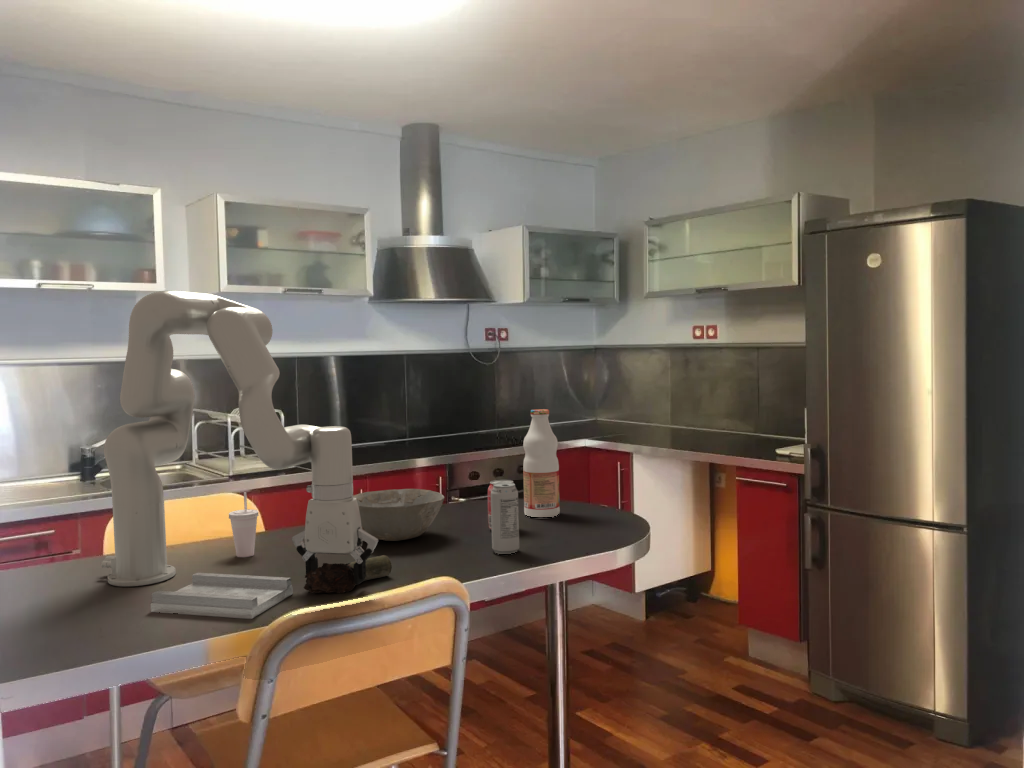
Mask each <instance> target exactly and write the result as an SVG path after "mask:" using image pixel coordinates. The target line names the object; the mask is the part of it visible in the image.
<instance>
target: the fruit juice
mask: <svg viewBox="0 0 1024 768" xmlns="http://www.w3.org/2000/svg"><path fill="white" fill-rule="evenodd" d="M549 416H550V410H549V409H545V408H543V409H539V408H538V409H530V417H531V421H530V426H529V428H528V431H527V433H526V435H525V436H524V438H523V444H522V447H523V451H524V458H523V463H522V464H523V465H522V466H523V467H522V471H523V472H522V473H523V474H522V475H523V512H524V516H525V515H527V516H531V517H552V518H555V517H554V516H556V517H558V516H559V515H560V511H561V509H560V464H559V459H558V457H557V456H558V455H557V450H558V446H559V443H558V438H557V436H556V435H555V434H554V432H553V429H552V427H551V424H550V421H549ZM558 514H559V515H558ZM557 515H558V516H557ZM527 516H526V517H527Z"/></svg>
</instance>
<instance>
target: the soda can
mask: <svg viewBox="0 0 1024 768" xmlns="http://www.w3.org/2000/svg"><path fill="white" fill-rule="evenodd" d="M496 483H514V481H513V480H511V479H494V480H491V481H489V486H488V488H487V522H488V528H489V529H490V530H491V531H492V525H491V491H492V489H493V487H494V486H493V485H494V484H496Z"/></svg>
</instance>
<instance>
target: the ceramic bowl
mask: <svg viewBox="0 0 1024 768" xmlns="http://www.w3.org/2000/svg"><path fill="white" fill-rule="evenodd" d="M353 498H356V499H357V503H358V507H359V512H360V518H361V525H362V530H363V531H365V532H367V533H369V534H370V535H372V536H374V537H375V538H377V539H378V541H381V540H383V541H385V542H399V541H400V542H401V541H405V540H406V541H407V540H410V539H414V538H417V537H420V536H422V535H423V534H424V533H425V532H426V531H427V530H428V528H430V527H431V525H432V523H434V520H435V519H436V517H437V515H438V514H439V512H440V510H441V508H442V506H443V503H444V501H445V496H444V495H443V494H442V493H440V492H437V491H435V490H434V491H433V490H430V489H421V488H402V489H383V490H375V491H366V492H360V493H358V494H357V493H356V494H353Z"/></svg>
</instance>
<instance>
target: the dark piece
mask: <svg viewBox="0 0 1024 768" xmlns="http://www.w3.org/2000/svg"><path fill="white" fill-rule="evenodd" d="M355 563H356V561H352V562H348V563H335V562H334V563H327V562H326V563H325V562H323V563H322V565H321V566H318V568H317V569H316V570H315V571H313V570H311V571H310V572H309V573H307V574H306V573H305V575H304V578H306V580H305V584H304V585H303V589H304V590H306V591H309V593H315V594H319V593H322V594H325V593H328V594H330V593H331V594H332V593H337V594H343V593H346V592H347V593H348V592H350V591H352V590H354V588H355V587H356V584H355V583H354V564H355ZM392 570H393V566H392V562H391V560H390V557H389V556H388V555H385V554H383V555H379V556H373V557H368V559H367V560H366V577H365V579H364V581H363V582H365V581H369V580H370V581H371V580H374V579H379V578H384V577H386V576H389V575H390V574H391V572H392Z"/></svg>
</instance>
